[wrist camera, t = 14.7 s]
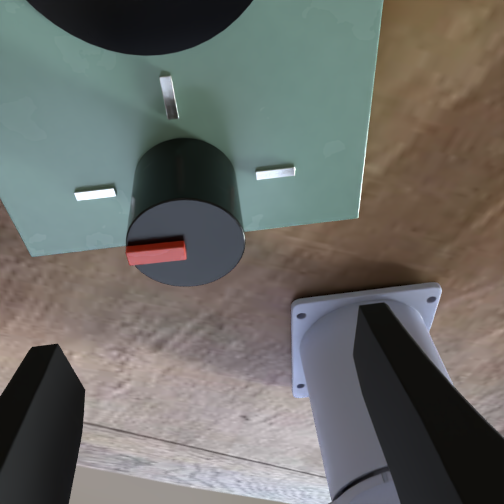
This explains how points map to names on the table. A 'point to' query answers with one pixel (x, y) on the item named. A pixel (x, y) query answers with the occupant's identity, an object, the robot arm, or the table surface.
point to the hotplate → (186, 118)
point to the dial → (185, 214)
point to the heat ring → (142, 22)
